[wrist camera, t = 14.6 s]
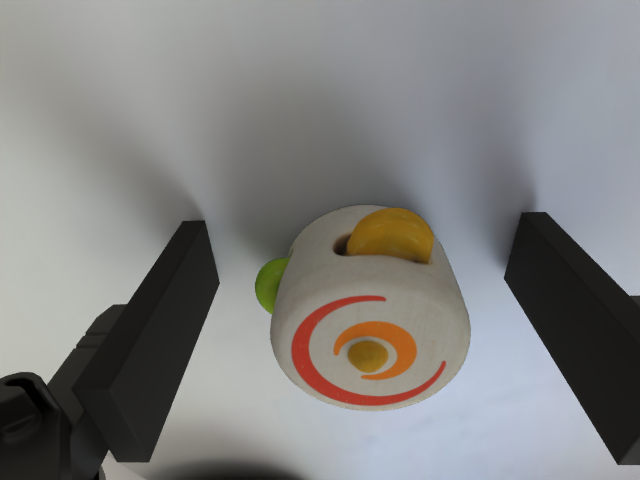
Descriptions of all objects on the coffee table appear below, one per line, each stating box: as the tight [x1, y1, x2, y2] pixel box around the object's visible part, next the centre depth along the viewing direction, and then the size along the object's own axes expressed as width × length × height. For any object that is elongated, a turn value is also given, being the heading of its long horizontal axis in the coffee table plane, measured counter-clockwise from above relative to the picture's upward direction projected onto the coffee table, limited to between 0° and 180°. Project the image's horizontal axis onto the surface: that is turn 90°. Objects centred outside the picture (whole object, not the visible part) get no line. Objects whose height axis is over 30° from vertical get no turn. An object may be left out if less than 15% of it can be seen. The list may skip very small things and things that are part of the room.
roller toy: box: [255, 205, 471, 411], centre depth 12 cm, size 4×6×6 cm
